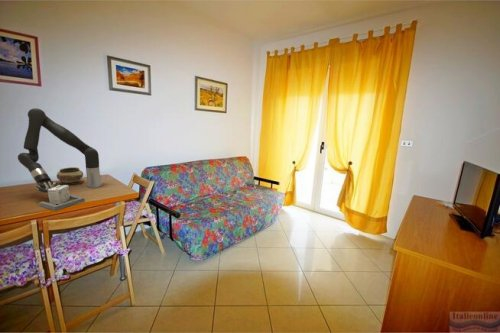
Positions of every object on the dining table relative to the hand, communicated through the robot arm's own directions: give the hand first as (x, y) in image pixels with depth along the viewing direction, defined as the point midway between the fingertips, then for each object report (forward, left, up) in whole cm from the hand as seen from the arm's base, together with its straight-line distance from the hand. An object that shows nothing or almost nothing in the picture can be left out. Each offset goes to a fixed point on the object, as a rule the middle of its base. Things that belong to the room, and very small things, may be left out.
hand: (53, 195), depth 150 cm
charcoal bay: (0, +8, -4) cm, 9 cm away
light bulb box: (-1, +4, -4) cm, 6 cm away
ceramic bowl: (-31, -34, -5) cm, 46 cm away
